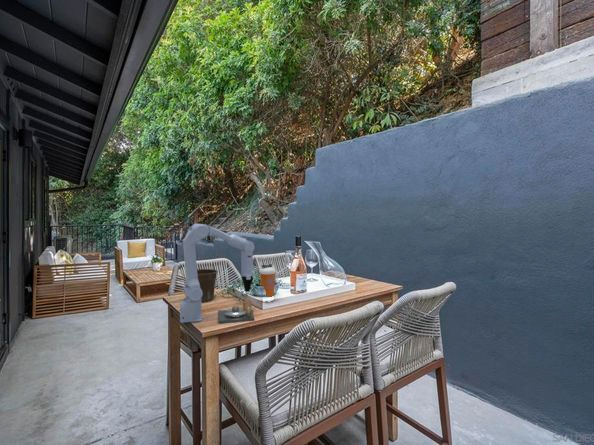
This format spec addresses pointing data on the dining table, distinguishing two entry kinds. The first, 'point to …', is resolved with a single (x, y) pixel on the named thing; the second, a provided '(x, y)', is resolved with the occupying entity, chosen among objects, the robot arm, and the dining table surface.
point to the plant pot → (207, 283)
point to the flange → (238, 310)
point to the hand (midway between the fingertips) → (247, 291)
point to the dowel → (248, 311)
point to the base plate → (225, 319)
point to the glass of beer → (268, 279)
